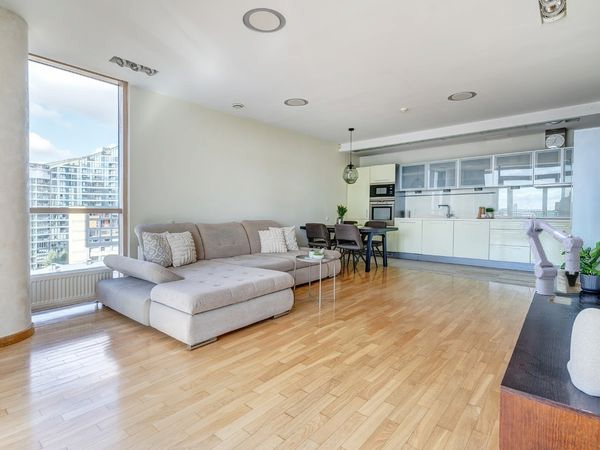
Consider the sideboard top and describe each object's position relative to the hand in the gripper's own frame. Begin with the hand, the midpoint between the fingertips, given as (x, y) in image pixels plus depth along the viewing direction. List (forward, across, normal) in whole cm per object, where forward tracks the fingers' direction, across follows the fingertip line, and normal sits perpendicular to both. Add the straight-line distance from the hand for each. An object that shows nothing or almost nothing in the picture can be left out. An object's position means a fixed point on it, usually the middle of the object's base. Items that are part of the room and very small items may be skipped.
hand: (571, 285), depth 162 cm
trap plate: (+8, -5, +8) cm, 13 cm away
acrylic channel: (+8, -5, +3) cm, 10 cm away
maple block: (+2, 0, -1) cm, 2 cm away
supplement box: (+9, +24, +2) cm, 25 cm away
